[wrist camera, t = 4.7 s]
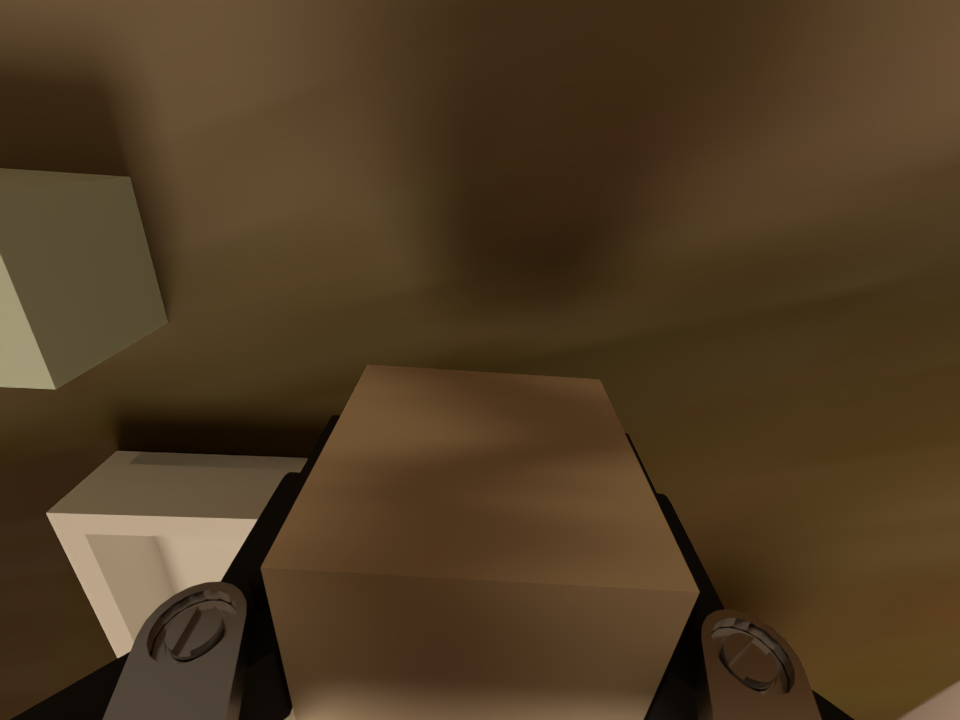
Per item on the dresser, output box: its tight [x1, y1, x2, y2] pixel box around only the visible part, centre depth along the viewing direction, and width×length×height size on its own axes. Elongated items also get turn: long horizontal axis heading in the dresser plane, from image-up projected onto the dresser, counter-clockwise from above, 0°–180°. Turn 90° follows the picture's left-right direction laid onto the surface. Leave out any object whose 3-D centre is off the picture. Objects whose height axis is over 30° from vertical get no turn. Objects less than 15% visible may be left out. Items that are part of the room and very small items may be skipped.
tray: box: [46, 451, 308, 720], centre depth 22 cm, size 16×19×4 cm
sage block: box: [0, 168, 168, 389], centre depth 13 cm, size 5×5×5 cm
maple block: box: [261, 365, 700, 720], centre depth 8 cm, size 5×5×5 cm
